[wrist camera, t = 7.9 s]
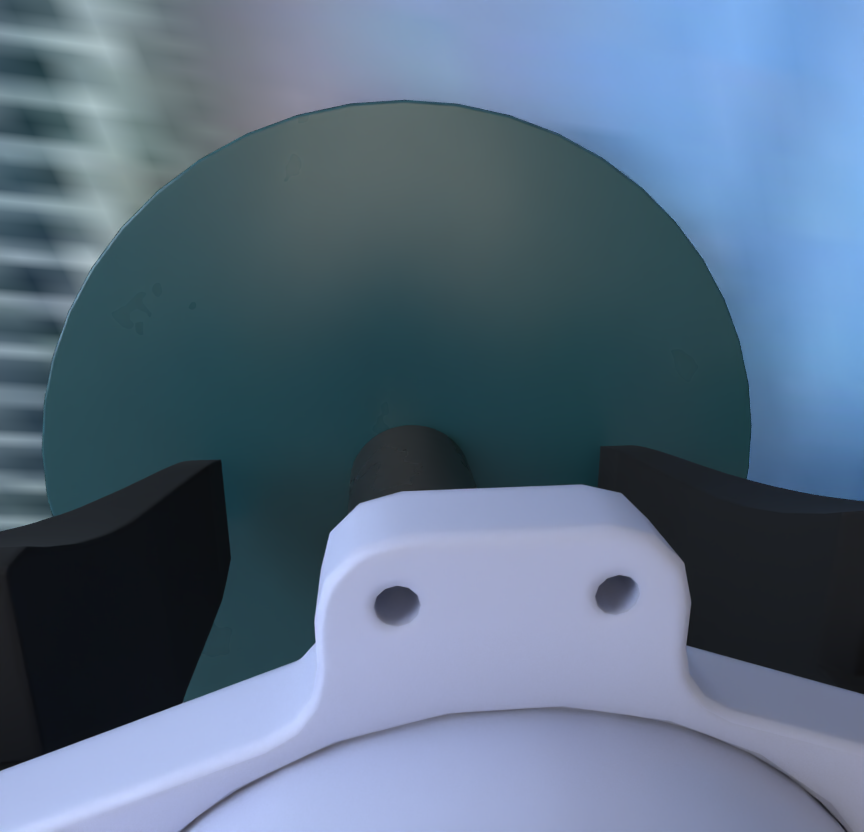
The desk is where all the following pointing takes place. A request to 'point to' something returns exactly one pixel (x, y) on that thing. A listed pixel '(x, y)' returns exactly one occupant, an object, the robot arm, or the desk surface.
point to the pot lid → (383, 340)
